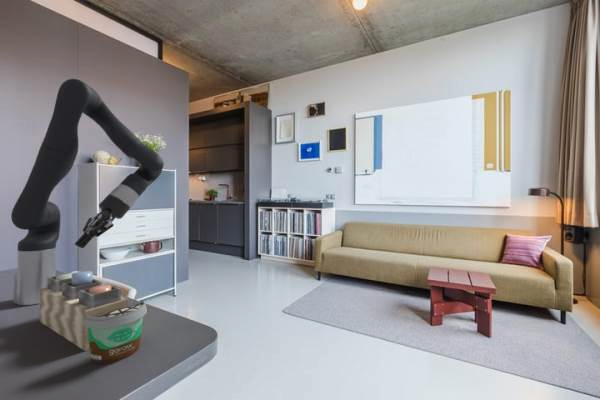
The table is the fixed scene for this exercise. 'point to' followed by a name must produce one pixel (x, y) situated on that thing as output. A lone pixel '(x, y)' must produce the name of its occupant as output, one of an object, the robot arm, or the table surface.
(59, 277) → the sage button
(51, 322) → the button console
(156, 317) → the table surface
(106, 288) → the peach rounded knob
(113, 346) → the food container
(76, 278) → the slate button
